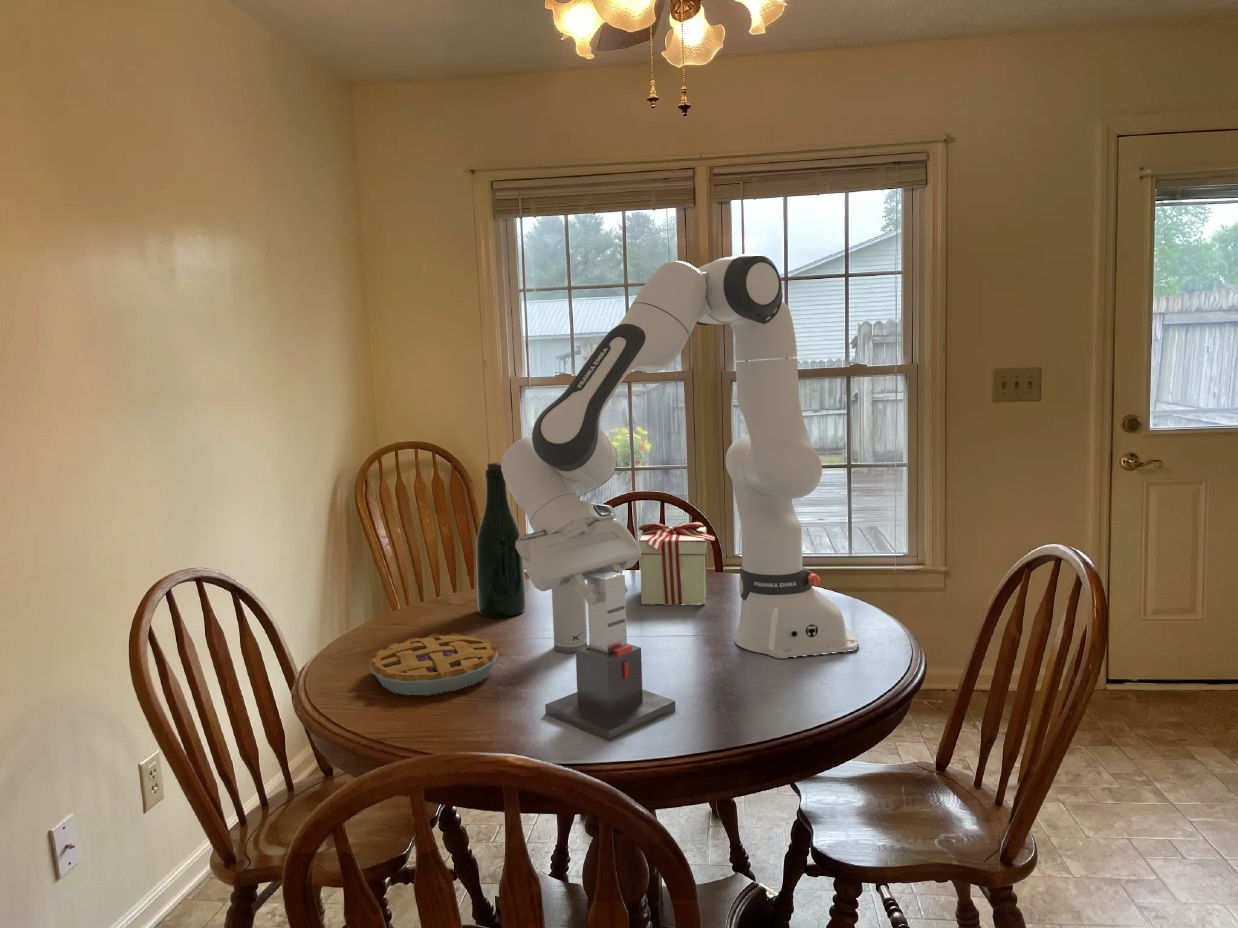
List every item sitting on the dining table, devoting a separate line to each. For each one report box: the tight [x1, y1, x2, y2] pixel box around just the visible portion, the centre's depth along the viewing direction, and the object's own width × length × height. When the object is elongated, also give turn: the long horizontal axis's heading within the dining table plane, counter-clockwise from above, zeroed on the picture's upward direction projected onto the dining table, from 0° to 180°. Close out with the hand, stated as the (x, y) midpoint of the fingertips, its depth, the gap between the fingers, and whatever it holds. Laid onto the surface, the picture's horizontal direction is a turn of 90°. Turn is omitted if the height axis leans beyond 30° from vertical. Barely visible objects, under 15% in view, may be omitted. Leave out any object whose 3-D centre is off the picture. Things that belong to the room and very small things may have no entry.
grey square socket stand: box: [544, 643, 677, 742], centre depth 123 cm, size 14×14×11 cm
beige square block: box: [586, 570, 628, 657], centre depth 122 cm, size 4×4×17 cm
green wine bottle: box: [475, 462, 527, 619], centre depth 177 cm, size 10×10×33 cm
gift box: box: [638, 521, 716, 606], centre depth 184 cm, size 17×18×17 cm
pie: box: [369, 632, 499, 697], centre depth 142 cm, size 22×22×5 cm
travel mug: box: [551, 580, 588, 654], centre depth 153 cm, size 6×7×20 cm
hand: (609, 598), depth 121 cm, fingers closed on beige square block, 4 cm apart
